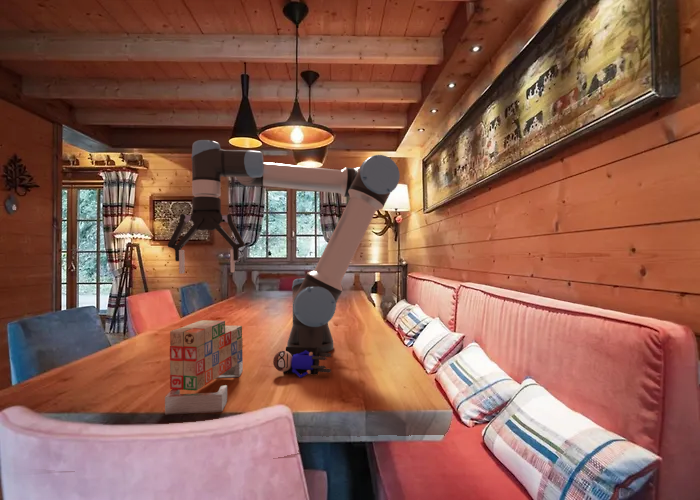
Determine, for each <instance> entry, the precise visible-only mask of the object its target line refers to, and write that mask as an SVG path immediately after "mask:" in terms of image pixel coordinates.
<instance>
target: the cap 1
mask: <svg viewBox="0 0 700 500" xmlns="http://www.w3.org/2000/svg"><path fill="white" fill-rule="evenodd" d="M227 403H228V385H226V384H225V385H220V387H219V389H218V390H217V392H198V393H197V392H196V393H181V390H178V389H170V391H169V392H168V393H167V394H166V395H165V396H164V415H165V416H166V415H186V414H205V413H222V412H223V411H224V409H225V407H226V405H227Z"/></svg>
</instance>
